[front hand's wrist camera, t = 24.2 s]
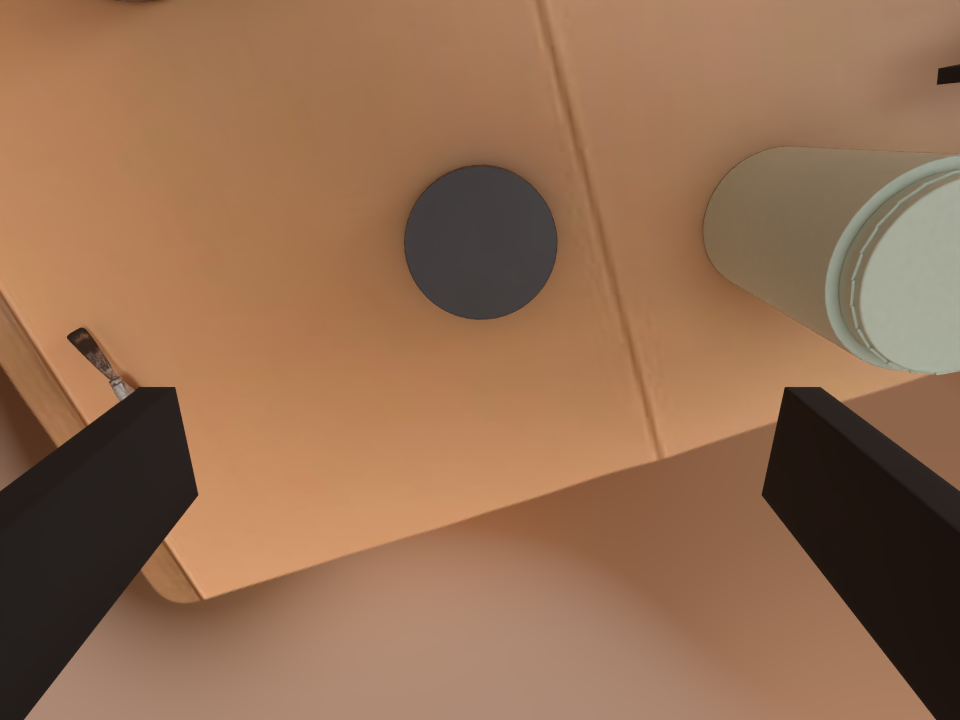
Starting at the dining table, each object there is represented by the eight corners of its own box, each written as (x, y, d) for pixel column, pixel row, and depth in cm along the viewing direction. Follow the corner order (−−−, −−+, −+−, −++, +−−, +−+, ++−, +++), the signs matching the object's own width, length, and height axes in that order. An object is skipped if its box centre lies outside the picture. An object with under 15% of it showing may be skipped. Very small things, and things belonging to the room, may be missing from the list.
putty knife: (151, 422, 42) (138, 433, 40) (75, 330, 39) (58, 339, 38) (162, 416, 42) (150, 427, 40) (86, 324, 39) (70, 332, 38)
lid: (571, 285, 38) (575, 292, 37) (438, 330, 40) (436, 338, 38) (528, 142, 35) (530, 142, 34) (385, 195, 36) (380, 198, 35)
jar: (684, 186, 36) (823, 222, 21) (828, 119, 35) (1081, 111, 20) (724, 310, 39) (870, 417, 24) (858, 254, 38) (1097, 332, 23)
